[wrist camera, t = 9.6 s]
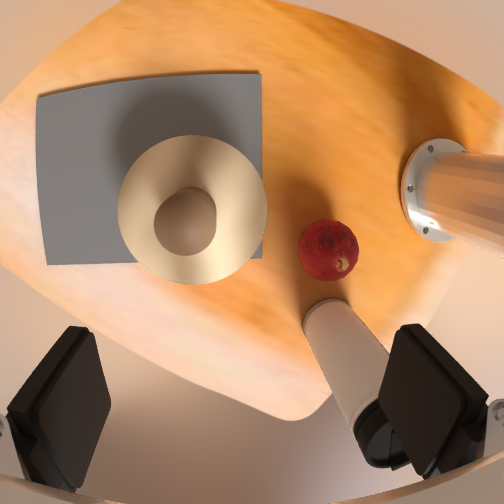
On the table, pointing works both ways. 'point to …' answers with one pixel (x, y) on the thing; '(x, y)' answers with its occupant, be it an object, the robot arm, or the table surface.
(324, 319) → the travel mug
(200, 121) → the mat
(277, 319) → the table surface
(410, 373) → the robot arm
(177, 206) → the lid
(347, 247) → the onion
